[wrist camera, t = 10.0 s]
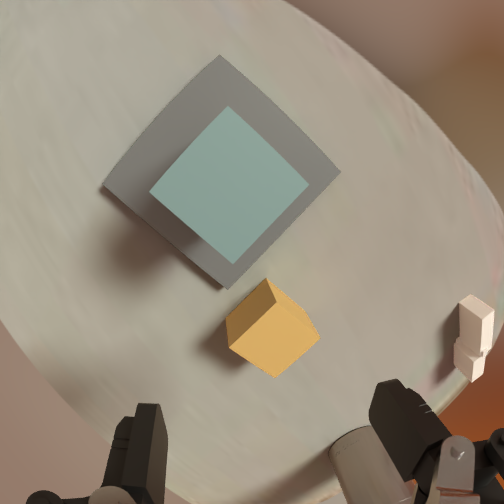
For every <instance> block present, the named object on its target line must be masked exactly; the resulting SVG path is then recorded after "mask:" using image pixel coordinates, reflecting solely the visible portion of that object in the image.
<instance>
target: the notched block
mask: <svg viewBox="0 0 504 504" xmlns="http://www.w3.org/2000/svg"><path fill="white" fill-rule="evenodd" d="M459 323H460V336H459V337H458V338H457V339H456V343H454V365H455V366H456V367H457V368H458V369H459V370H460V371H461V372H462V373H463V374H464V375H465V376H466V377H467V378H468V379H469V380H470V381H471V382H473V381H474V380H475V379H477V378H478V377H479V376H481V375H482V374H483V370H484V362H485V355H486V354H487V351H488V350H489V349H491V345H492V335H493V323H494V309H492V308H491V307H490V306H488V305H487V304H485V303H484V302H482V301H481V300H479V299H478V298H476V297H475V296H473V295H472V294H470V295H469V296H467V297H466V298H464V299H463V300H462V301H460V302H459Z"/></svg>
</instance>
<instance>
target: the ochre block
mask: <svg viewBox="0 0 504 504" xmlns="http://www.w3.org/2000/svg"><path fill="white" fill-rule="evenodd" d="M225 319H226V328H227V337H228V345H229V348H230V349H231V350H233V351H234V352H236V353H237V354H239V355H240V356H242V357H243V358H245V359H246V360H248V361H249V362H251V363H252V364H254V365H255V366H257V367H258V368H260V369H261V370H263V371H264V372H266V373H268V374H269V375H271V376H272V377H274V378H276V377H277V376H278V375H279V374H281V373H282V372H283V371H284V370H285V369H286V368H288V367H289V366H290V365H291V364H292V363H293V362H295V361H296V360H297V359H298V358H299V357H300V356H301V355H302V354H304V353H305V352H306V351H307V350H308V349H309V348H310V347H311V346H313V345H314V344H315V343H316V342H317V341H318V340H319V339H320V336H319V334H318V333H317V331H316V329H315V328H314V326H313V324H312V322H311V321H310V319H309V317H308V316H307V314H306V312H305V311H304V310H303V309H302V308H301V307H299V306H298V305H297V304H296V303H295V302H294V301H292V300H291V299H290V298H289V297H288V296H287V295H285V294H284V293H283V292H282V291H281V290H280V289H278V288H277V287H276V286H275V285H274V284H273V283H271V282H270V281H269V280H268V279H267V278H265V279H264V280H263V281H262V282H261V283H260V284H259V285H258V286H257V287H256V288H255V289H254V290H253V291H252V292H251V293H250V294H249V295H248V296H247V297H246V298H245V299H244V300H243V301H242V302H241V303H240V304H239V305H238V306H237V307H236V308H235V309H234V310H233V311H232V312H231V313H230V314H229V315H228V316H227V317H226V318H225Z"/></svg>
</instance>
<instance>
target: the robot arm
mask: <svg viewBox="0 0 504 504" xmlns="http://www.w3.org/2000/svg"><path fill="white" fill-rule="evenodd" d="M369 420H370V423H371V425H372V426H367V427H362V428H359V429H356V430H354V431H352V432H350V433H348V434H346V435H345V436H343V437H341V438H340V439H339V440H338V441H336V442H335V443H334V445H333V446H332V447H331V449H330V451H329V458H330V460H331V463H332V465H333V468H334V470H335V473H336V476H337V478H338V481H339V483H340V486H341V488H342V491H343V494H344V496H345V498H346V501H347V504H504V490H503V488H502V486H501V485H500V483H499V482H498V480H497V479H496V477H495V476H496V475H497V474H498V473H499V474H500V475H501V477H502V478H503V479H504V428H500V429H497V430H495V431H494V432H493V433H492V435H491V436H490V438H489V439H488V440H483V441H477V442H471V441H470V440H468V439H467V438H465V437H463V436H452V435H451V433H450V432H449V431H448V430H447V428H446V427H445V426H444V424H443V423H442V422H441V421H440V420H439V418H438V417H437V416H436V414H435V413H434V412H432V409H431V408H430V407H429V406H428V405H426V402H425V401H424V399H423V398H422V397H421V396H420V395H419V394H418V393H416V392H415V391H413V390H412V389H410V388H407V389H406V388H405V387H404V386H403V384H402V383H401V382H400V381H399V380H398V379H392V380H388V381H384V382H380V383H378V384H377V386H376V389H375V393H374V396H373V399H372V402H371V406H370V409H369ZM111 447H112V448H111V450H110V454H109V458H108V462H107V467H106V471H105V475H104V479H103V483H102V485H101V487H100V488H99V489H97V490H95V491H94V492H93V493H92V494H91V495H90V496H88V497H85V498H75V499H61V498H60V497H59V496H58V495H56V494H55V493H53V492H50V491H46V490H42V491H37V492H35V493H33V494H32V495H30V497H29V498H28V499H27V502H26V504H164V493H165V478H166V464H167V452H168V435H167V430H166V426H165V422H164V418H163V415H162V411H161V407H160V404H149V403H138V405H137V408H136V413H135V417H128V416H125V417H124V418H123V419H122V420H121V422H120V423H119V424H118V425H117V427H116V430H115V434H114V440H113V442H112V446H111ZM412 479H415V480H416V481H417V483H416V485H414V483H413V481H412Z"/></svg>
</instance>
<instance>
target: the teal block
mask: <svg viewBox="0 0 504 504" xmlns="http://www.w3.org/2000/svg"><path fill="white" fill-rule="evenodd" d="M308 186H309V184H308V183H307V182H306V181H305V180H304V179H303V178H302V176H301V175H300V174H299V173H298V172H297V171H296V170H295V169H294V168H293V167H292V166H291V165H290V164H289V163H288V162H287V161H286V160H285V159H284V158H283V157H282V156H281V155H280V154H279V153H278V152H277V151H276V150H275V149H274V148H273V147H271V146H270V145H269V144H268V143H267V142H266V141H265V140H264V139H263V138H262V137H261V136H260V135H259V134H258V133H257V132H256V131H255V130H254V129H253V128H252V127H250V126H249V125H248V124H247V123H246V122H245V121H244V120H243V119H242V118H241V117H240V116H239V115H237V114H236V113H235V112H234V111H233V110H232V109H231V108H230V107H229V106H227V107H226V108H225V109H224V110H223V111H222V112H221V113H220V114H219V115H218V116H217V117H216V118H215V119H214V120H213V121H212V122H211V123H210V124H209V125H208V126H207V127H206V129H205V130H204V131H203V132H202V133H201V134H200V135H199V136H198V137H197V138H196V139H195V140H194V141H193V142H192V143H191V144H190V145H189V147H188V148H187V149H186V150H185V151H184V152H183V153H182V154H181V155H180V156H179V158H178V159H177V160H176V161H175V162H174V163H173V164H172V165H171V167H170V168H169V169H168V170H167V171H166V172H165V173H164V175H163V176H162V177H161V178H160V179H159V180H158V182H157V183H156V184H155V185H154V186H153V188H152V189H151V190H150V191H149V192H150V193H151V194H152V195H153V196H154V197H155V198H156V199H158V200H159V201H160V202H161V203H162V204H163V205H164V206H166V207H167V208H168V209H169V210H170V211H171V212H173V213H174V214H175V215H176V216H177V217H178V218H179V219H181V220H182V221H183V222H184V223H185V224H186V225H188V226H189V227H190V228H191V229H192V230H193V231H195V232H196V233H197V234H198V235H199V236H200V237H202V238H203V239H204V240H205V241H206V242H207V243H209V244H210V245H211V246H212V247H213V248H214V249H216V250H217V251H218V252H219V253H220V254H221V255H223V256H224V257H225V258H226V259H227V260H229V261H230V262H231V263H232V264H234V263H235V262H236V261H237V260H238V258H239V257H240V256H241V255H242V254H243V253H244V252H245V251H246V250H247V249H248V248H249V247H250V246H251V245H252V244H253V243H254V242H255V241H256V240H257V239H258V238H259V237H260V235H261V234H262V233H263V232H264V231H265V230H266V229H267V228H268V227H269V226H270V225H271V224H272V223H273V222H274V221H275V220H276V219H277V218H278V217H279V216H280V215H281V214H282V213H283V212H284V210H285V209H286V208H287V207H288V206H289V205H290V204H291V203H292V202H293V201H294V200H295V199H296V198H297V197H298V196H299V195H300V194H301V193H302V192H303V191H304V190H305V189H306V188H307V187H308Z"/></svg>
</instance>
